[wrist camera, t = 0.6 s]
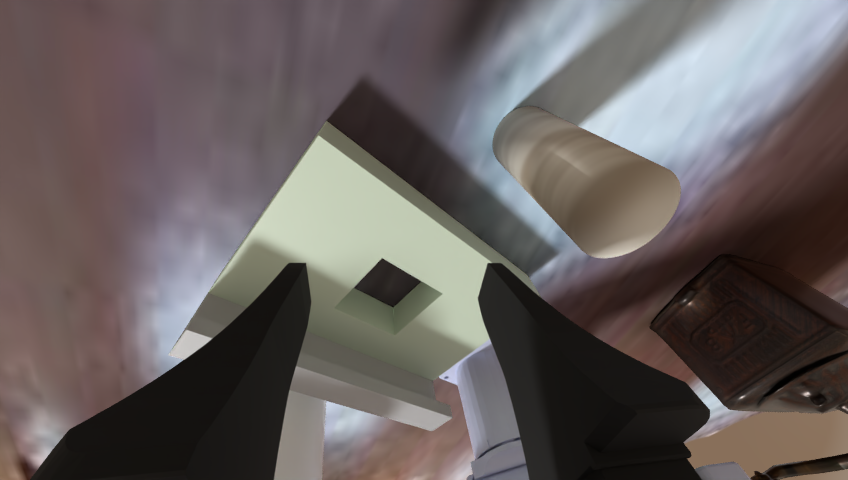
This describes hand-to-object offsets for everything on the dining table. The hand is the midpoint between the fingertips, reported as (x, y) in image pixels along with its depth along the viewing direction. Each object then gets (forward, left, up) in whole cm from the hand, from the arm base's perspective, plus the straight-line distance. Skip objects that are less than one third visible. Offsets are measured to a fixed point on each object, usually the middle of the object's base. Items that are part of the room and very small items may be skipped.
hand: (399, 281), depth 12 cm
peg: (-5, -8, -10) cm, 13 cm away
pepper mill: (-36, -9, -10) cm, 38 cm away
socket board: (-5, +6, -10) cm, 12 cm away
